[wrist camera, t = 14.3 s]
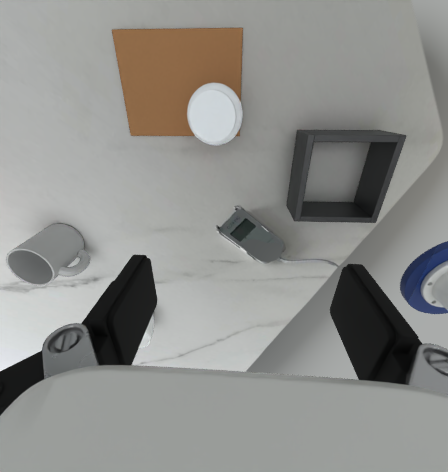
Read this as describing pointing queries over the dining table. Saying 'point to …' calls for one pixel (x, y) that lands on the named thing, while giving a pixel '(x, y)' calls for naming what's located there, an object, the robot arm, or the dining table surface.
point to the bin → (371, 183)
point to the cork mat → (173, 73)
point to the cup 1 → (48, 255)
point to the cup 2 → (147, 334)
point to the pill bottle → (214, 114)
